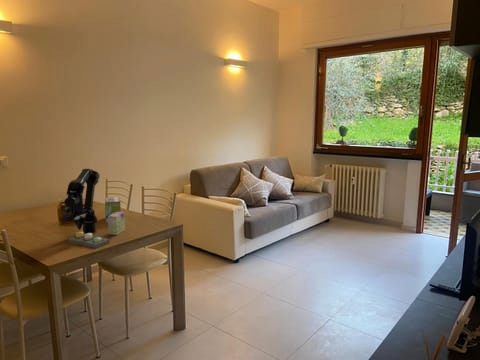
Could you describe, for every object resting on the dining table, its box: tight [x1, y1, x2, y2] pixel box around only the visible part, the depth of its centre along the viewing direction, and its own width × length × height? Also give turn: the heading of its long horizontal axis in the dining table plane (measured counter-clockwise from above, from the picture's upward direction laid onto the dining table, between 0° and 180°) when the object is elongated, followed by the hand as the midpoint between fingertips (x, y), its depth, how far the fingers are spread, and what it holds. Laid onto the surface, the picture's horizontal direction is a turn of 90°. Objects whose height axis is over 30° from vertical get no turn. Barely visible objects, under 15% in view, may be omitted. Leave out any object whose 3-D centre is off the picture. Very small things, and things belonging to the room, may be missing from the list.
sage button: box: [93, 236, 102, 243], centre depth 201 cm, size 4×4×3 cm
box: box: [107, 211, 126, 236], centre depth 222 cm, size 10×6×12 cm, turn 171°
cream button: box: [84, 233, 93, 240], centre depth 204 cm, size 4×4×3 cm
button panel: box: [67, 235, 111, 249], centre depth 205 cm, size 10×22×2 cm, turn 64°
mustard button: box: [75, 230, 85, 239], centre depth 207 cm, size 4×4×3 cm
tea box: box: [104, 196, 122, 224], centre depth 249 cm, size 15×10×15 cm
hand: (79, 229), depth 207 cm, fingers closed
